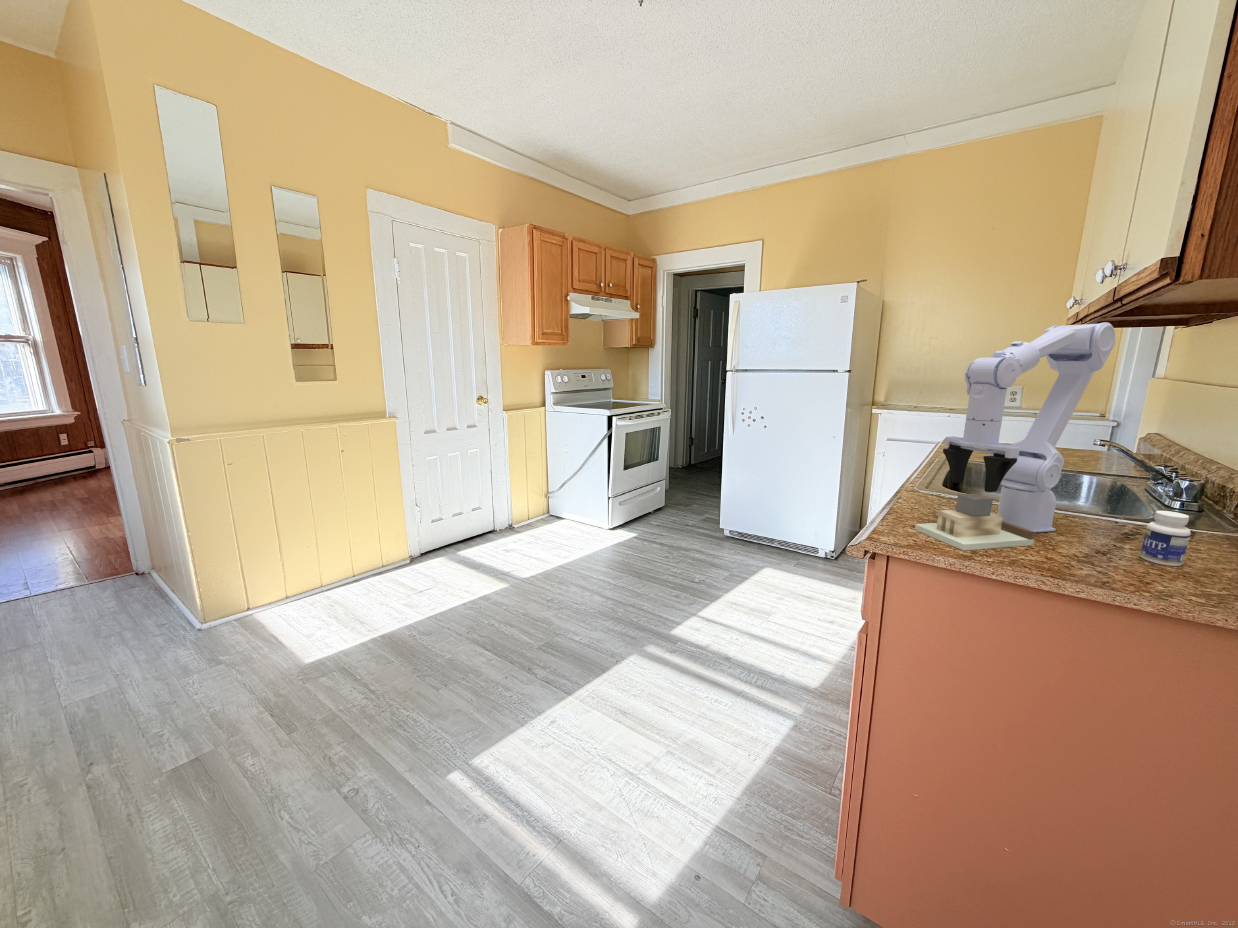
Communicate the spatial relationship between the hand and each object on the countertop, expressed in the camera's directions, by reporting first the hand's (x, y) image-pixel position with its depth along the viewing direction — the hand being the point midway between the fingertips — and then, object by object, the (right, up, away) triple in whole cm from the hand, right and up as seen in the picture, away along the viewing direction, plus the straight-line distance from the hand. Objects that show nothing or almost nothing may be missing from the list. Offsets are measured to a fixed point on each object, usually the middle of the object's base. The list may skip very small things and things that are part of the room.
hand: (973, 486), depth 99 cm
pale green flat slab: (+1, -10, +1) cm, 10 cm away
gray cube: (0, -5, 0) cm, 5 cm away
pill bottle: (+26, -13, -11) cm, 31 cm away
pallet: (-1, -9, +1) cm, 9 cm away
